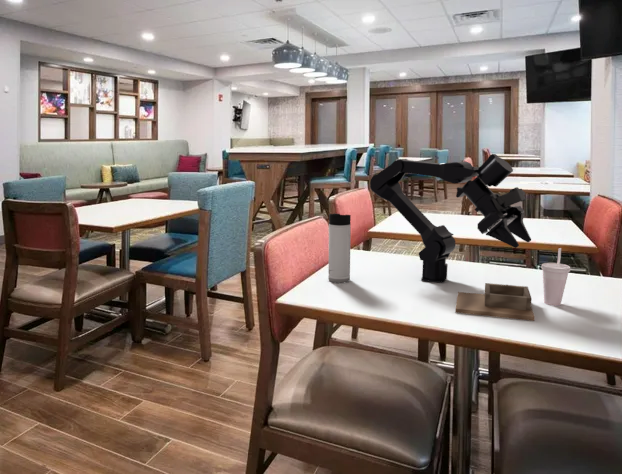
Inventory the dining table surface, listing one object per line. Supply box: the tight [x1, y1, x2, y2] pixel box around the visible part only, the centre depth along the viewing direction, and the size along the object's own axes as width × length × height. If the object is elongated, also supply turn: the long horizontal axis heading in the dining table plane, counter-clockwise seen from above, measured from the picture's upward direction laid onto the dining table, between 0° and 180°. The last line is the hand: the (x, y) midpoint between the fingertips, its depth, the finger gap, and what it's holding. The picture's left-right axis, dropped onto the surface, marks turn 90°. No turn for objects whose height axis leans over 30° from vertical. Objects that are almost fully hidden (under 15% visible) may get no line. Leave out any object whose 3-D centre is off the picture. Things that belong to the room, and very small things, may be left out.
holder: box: [454, 282, 536, 322], centre depth 117 cm, size 17×14×4 cm
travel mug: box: [328, 212, 352, 284], centre depth 140 cm, size 6×7×20 cm
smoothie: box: [541, 247, 571, 307], centre depth 119 cm, size 6×6×14 cm
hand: (523, 243), depth 124 cm, fingers open, 9 cm apart
